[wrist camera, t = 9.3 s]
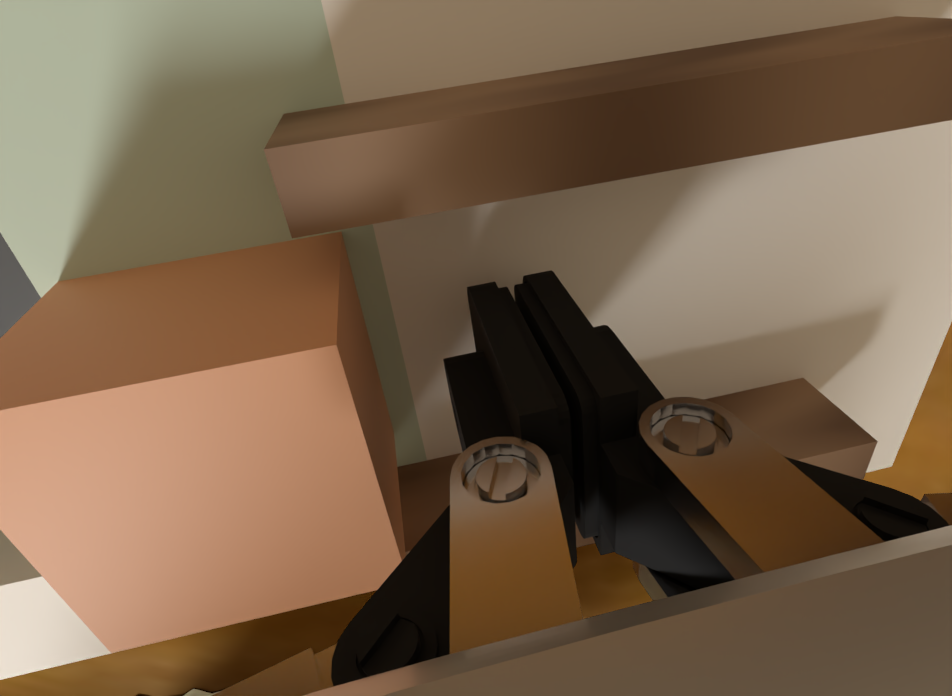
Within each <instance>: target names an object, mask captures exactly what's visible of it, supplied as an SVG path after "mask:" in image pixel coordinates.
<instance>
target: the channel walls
mask: <svg viewBox="0 0 952 696" xmlns="http://www.w3.org/2000/svg"><path fill="white" fill-rule="evenodd" d="M949 120H952V19H950V18H927V17H904V16H894V17H888V18H882V19H876V20H869V21H863V22H857V23H851V24H844V25H838V26H832V27H825V28H819V29H813V30H807V31H800V32H794V33H788V34H781V35H775V36H769V37H763V38H756V39H750V40H744V41H737V42H731V43H725V44H719V45H712V46H706V47H700V48H693V49H687V50H681V51H675V52H668V53H662V54H656V55H650V56H643V57H637V58H631V59H624V60H618V61H612V62H606V63H599V64H593V65H587V66H580V67H574V68H568V69H562V70H555V71H549V72H543V73H536V74H530V75H524V76H518V77H511V78H505V79H499V80H493V81H486V82H480V83H474V84H467V85H461V86H455V87H449V88H442V89H436V90H430V91H423V92H417V93H411V94H405V95H398V96H392V97H386V98H379V99H373V100H367V101H361V102H354V103H348V104H342V105H335V106H329V107H323V108H317V109H310V110H304V111H298V112H292V113H285V114H283V116H282V118H281V119H280V121H279V123H278V125H277V127H276V128H275V130H274V132H273V134H272V136H271V137H270V139H269V141H268V143H267V144H266V146H265V148H264V152H265V155H266V158H267V162H268V165H269V168H270V171H271V174H272V177H273V180H274V183H275V187H276V190H277V193H278V196H279V199H280V202H281V205H282V209H283V212H284V215H285V218H286V221H287V224H288V227H289V231H290V234H291V237H292V238H298V237H303V236H309V235H314V234H320V233H326V232H331V231H337V230H342V229H348V228H353V227H359V226H365V225H370V224H376V223H381V222H387V221H392V220H398V219H404V218H409V217H415V216H420V215H426V214H431V213H437V212H443V211H448V210H454V209H459V208H465V207H470V206H476V205H482V204H487V203H493V202H498V201H504V200H509V199H515V198H521V197H526V196H532V195H537V194H543V193H548V192H554V191H560V190H565V189H571V188H576V187H582V186H587V185H593V184H599V183H604V182H610V181H615V180H621V179H626V178H632V177H638V176H643V175H649V174H654V173H660V172H665V171H671V170H677V169H682V168H688V167H693V166H699V165H704V164H710V163H716V162H721V161H727V160H732V159H738V158H743V157H749V156H755V155H760V154H766V153H771V152H777V151H782V150H788V149H794V148H799V147H805V146H810V145H816V144H821V143H827V142H833V141H838V140H844V139H849V138H855V137H860V136H866V135H872V134H877V133H883V132H888V131H894V130H899V129H905V128H910V127H916V126H922V125H927V124H933V123H938V122H944V121H949ZM704 400H707V401H710V402H713V403H715V404H718V405H720V406H722V407H723V408H725V409H726V410H728V411H729V412H731V413H732V414H734V415H735V416H736V417H737V418H738V419H739V420H741V421H742V422H743V423H744V424H745V425H747V426H748V427H749V428H750V429H751V430H753V431H754V432H755V433H756V434H757V435H759V436H760V437H761V438H762V439H763V440H764V441H766V442H767V443H768V444H769V445H770V446H772V447H773V448H774V449H775V450H776V451H778V452H779V453H780V454H781V455H782V456H785V457H788V458H791V459H795V460H798V461H801V462H805V463H808V464H811V465H815V466H818V467H822V468H825V469H828V470H832V471H835V472H838V473H842V474H845V475H848V476H852V477H855V478H858V479H864V476H865V473H866V471H867V468H868V465H869V463H870V460H871V458H872V455H873V452H874V450H875V447H876V444H877V442H878V441H877V440H876V439H874V438H873V437H872V436H871V435H870V434H869V433H867V432H866V431H865V430H864V429H863V428H862V427H860V426H859V425H858V424H857V423H856V422H855V421H853V420H852V419H851V418H850V417H849V416H848V415H846V414H845V413H844V412H843V411H842V410H840V409H839V408H838V407H837V406H836V405H835V404H833V403H832V402H831V401H830V400H829V399H828V398H826V397H825V396H824V395H823V394H822V393H821V392H819V391H818V390H817V389H816V388H815V387H814V386H812V385H811V384H810V383H809V382H808V381H807V380H805V379H804V378H799V379H795V380H790V381H786V382H781V383H777V384H772V385H768V386H763V387H758V388H754V389H749V390H745V391H740V392H736V393H731V394H727V395H722V396H718V397H713V398H708V399H704ZM460 454H461V453H458V454H454V455H449V456H445V457H440V458H436V459H431V460H427V461H422V462H418V463H413V464H409V465H404V466H399V467H397V469H398V480H399V490H400V501H401V511H402V522H403V532H404V543H405V553H406V555H407V554H408V553H409V552H410V551H411V550H412V548H413V547H414V546H415V545H416V544H417V542H418V541H419V540H420V539H421V538H422V537H423V535H424V534H425V533H426V532H427V531H428V529H429V528H430V527H431V526H432V525H433V523H434V522H435V521H436V520H437V519H438V518H439V516H440V515H441V514H442V513H443V512H444V510H445V509H446V508H447V507H448V506H449V505H450V475H451V470H452V466H453V464H454V463H455V461H456V459H457V458H458V456H459V455H460ZM575 524H576V522H575ZM593 543H595V541H594V539H593V537H590V538H586V539H584V538H583V537H582V536H581V534H580V532H579V529H578V527H577V525H576V548H577V547H581V546H585V545H589V544H593Z"/></svg>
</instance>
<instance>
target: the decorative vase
mask: <svg viewBox="0 0 952 696" xmlns="http://www.w3.org/2000/svg"><path fill="white" fill-rule="evenodd" d="M219 692H220V691H219ZM216 693H218V692H216ZM216 693H213V694H211V693H208V692H204V691H201V690H197V689H192V690H191V691H189V692H188V693H186V694H185V695H183V696H212V695H214V694H216Z"/></svg>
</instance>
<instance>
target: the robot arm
mask: <svg viewBox="0 0 952 696" xmlns="http://www.w3.org/2000/svg"><path fill="white" fill-rule="evenodd" d="M467 295H468V302H469V309H470V315H471V322H472V329H473V335H474V342H475V349H476V352H473V353H468V354H463V355H458V356H454V357H449V358H444V359H443V361H444V367H445V373H446V378H447V383H448V388H449V393H450V398H451V403H452V408H453V413H454V417H455V422H456V426H457V431H458V435H459V439H460V443H461V447H462V453H461V454H460V455H459V456H458V458H457V459H456V461H455V463H454V464H453V466H452V470H451V475H450V505H449V506H448V507H447V508H446V509H445V510H444V512H443V513H442V514H441V515H440V516H439V518H438V519H437V520H436V521H435V522H434V523H433V525H432V526H431V527H430V528H429V529H428V531H427V532H426V533H425V534H424V535H423V537H422V538H421V539H420V540H419V541H418V542H417V544H416V545H415V546H414V547H413V548H412V550H411V551H410V552H409V553H408V554H407V555H406V557H405V558H404V559H403V560H402V561H401V563H400V564H399V565H398V566H397V567H396V568H395V570H394V571H393V572H392V573H391V574H390V576H389V577H388V578H387V579H386V580H385V582H384V583H383V584H382V585H381V586H380V587H379V589H378V590H377V591H376V592H375V593H374V595H373V596H372V597H371V598H370V599H369V600H368V602H367V603H366V604H365V605H364V606H363V608H362V609H361V610H360V611H359V612H358V613H357V615H356V616H355V617H354V618H353V619H352V621H351V622H350V623H349V624H348V626H347V627H346V629H345V630H344V632H343V633H342V635H341V637H340V638H339V640H338V642H337V644H335V645H333V646H331V647H329V648H327V649H325V650H323V651H321V652H319V653H317V654H315V653H314V651H313V650H312V648H309V649H307V650H305V651H303V652H301V653H299V654H297V655H295V656H292V657H290V658H288V659H286V660H284V661H282V662H280V663H278V664H276V665H274V666H272V667H270V668H268V669H266V670H264V671H261V672H259V673H257V674H255V675H253V676H251V677H249V678H247V679H245V680H243V681H241V682H239V683H237V684H235V685H233V686H230V687H228V688H226V689H224V690H222V691H220V692H218V693H216V694H214V695H212V696H952V493H935V494H924V496H923V498H922V500H921V501H919V500H918V499H916V498H914V497H913V496H910V495H908V494H905V493H902V492H900V491H897V490H895V489H892V488H889V487H885V486H882V485H879V484H875V483H872V482H869V481H865V480H862V479H858V478H855V477H852V476H848V475H845V474H842V473H838V472H835V471H832V470H828V469H825V468H822V467H818V466H815V465H811V464H808V463H805V462H801V461H798V460H795V459H791V458H788V457H785V456H782V455H781V454H780V453H779V452H778V451H776V450H775V449H774V448H773V447H772V446H770V445H769V444H768V443H767V442H766V441H764V440H763V439H762V438H761V437H760V436H759V435H757V434H756V433H755V432H754V431H753V430H751V429H750V428H749V427H748V426H747V425H745V424H744V423H743V422H742V421H741V420H739V419H738V418H737V417H736V416H735V415H734V414H732V413H731V412H729V411H728V410H726V409H725V408H723V407H722V406H720V405H718V404H715V403H713V402H710V401H707V400H704V399H699V398H693V397H673V398H668V399H665V398H664V397H663V396H662V394H661V393H660V392H659V390H658V389H657V388H656V386H655V385H654V384H653V383H652V381H651V380H650V379H649V377H648V376H647V375H646V373H645V372H644V371H643V370H642V368H641V367H640V366H639V364H638V363H637V362H636V361H635V359H634V358H633V357H632V355H631V354H630V353H629V351H628V350H627V349H626V348H625V346H624V345H623V344H622V342H621V341H620V340H619V338H618V337H617V336H616V335H615V333H614V332H613V331H612V329H611V328H610V327H608V326H607V325H601V326H597V327H593V326H592V325H591V323H590V322H589V320H588V319H587V318H586V316H585V315H584V314H583V312H582V311H581V309H580V308H579V307H578V305H577V304H576V302H575V301H574V300H573V298H572V297H571V296H570V294H569V293H568V291H567V290H566V289H565V287H564V286H563V284H562V283H561V282H560V280H559V279H558V277H557V276H556V275H555V273H554V272H553V271H552V270H550V271H545V272H540V273H535V274H530V275H525V276H523V283H522V284H517V285H515V286H514V296H515V300H514V298H513V297H512V295H511V293H510V291H509V289H508V287H502V288H498V286H497V284H496V282H490V283H485V284H480V285H475V286H470V287H467ZM575 522H576V524H575ZM576 525H577V527H578V529H579V532H580V534H581V536H582V537H583V538H584V539H586V538H590V537H593V539H594V541H595V543H596V546H597V548H598V550H599V552H600V555H604V554H608V553H612V552H615V553H617V554H619V555H622V556H624V557H626V558H628V559H631V560H632V562H633V569H634V571H635V573H636V575H637V577H638V579H639V581H640V582H641V584H642V585H643V587H644V588H645V590H646V591H647V592H648V594H649V595H650V597H651V598H652V600H653V601H652V602H648V603H644V604H640V605H636V606H632V607H628V608H624V609H620V610H617V611H613V612H609V613H605V614H601V615H598V616H594V617H590V618H586V619H583V616H582V612H581V607H580V602H579V597H578V592H577V587H576V582H575V578H574V573H573V568H574V566H575V565H576V563H577V551H576Z"/></svg>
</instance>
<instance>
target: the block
mask: <svg viewBox="0 0 952 696" xmlns="http://www.w3.org/2000/svg"><path fill="white" fill-rule="evenodd" d="M0 530H1V531H2V532H3V533H4V534H5V536H6V537H7V538H8V539H9V540H10V541H11V542H12V543H13V544H14V546H15V547H16V548H17V549H18V550H19V551H20V552H21V553H22V554H23V556H24V557H25V558H26V559H27V560H28V561H29V562H30V563H31V564H32V566H33V567H34V568H35V569H36V570H37V571H38V572H39V573H40V574H41V576H42V577H43V578H44V579H45V580H46V581H47V582H48V583H49V585H50V586H51V587H52V588H53V589H54V590H55V591H56V592H57V593H58V595H59V596H60V597H61V598H62V599H63V600H64V601H65V602H66V603H67V605H68V606H69V607H70V608H71V609H72V610H73V611H74V612H75V613H76V615H77V616H78V617H79V618H80V619H81V620H82V621H83V622H84V623H85V625H86V626H87V627H88V628H89V629H90V630H91V631H92V632H93V633H94V635H95V636H96V637H97V638H98V639H99V640H100V641H101V642H102V643H103V645H104V646H105V647H106V648H107V649H108V650H109V651H110V652H111V653H114V652H118V651H122V650H127V649H131V648H135V647H139V646H144V645H148V644H152V643H156V642H160V641H165V640H169V639H173V638H177V637H181V636H186V635H190V634H194V633H198V632H203V631H207V630H211V629H215V628H219V627H224V626H228V625H232V624H236V623H240V622H245V621H249V620H253V619H257V618H261V617H266V616H270V615H274V614H278V613H283V612H287V611H291V610H295V609H299V608H304V607H308V606H312V605H316V604H320V603H325V602H329V601H333V600H337V599H342V598H346V597H350V596H354V595H358V594H363V593H367V592H371V591H375V590H378V589H379V587H380V586H381V585H382V584H383V583H384V582H385V580H386V579H387V578H388V577H389V576H390V574H391V573H392V572H393V571H394V570H395V568H396V567H397V566H398V565H399V564H400V563H401V561H402V560H403V559H404V558H405V557H406V553H405V543H404V532H403V522H402V511H401V501H400V490H399V480H398V469H397V459H396V449H395V438H394V431H393V427H392V423H391V419H390V416H389V412H388V408H387V404H386V400H385V397H384V393H383V389H382V385H381V381H380V377H379V374H378V370H377V366H376V362H375V358H374V354H373V351H372V347H371V343H370V339H369V335H368V332H367V328H366V324H365V320H364V316H363V312H362V309H361V305H360V301H359V297H358V293H357V289H356V286H355V282H354V278H353V274H352V270H351V266H350V263H349V259H348V255H347V251H346V247H345V244H344V240H343V236H342V232H335V233H330V234H324V235H318V236H313V237H307V238H301V239H296V240H290V241H284V242H279V243H273V244H267V245H262V246H256V247H250V248H245V249H239V250H233V251H228V252H222V253H216V254H211V255H205V256H199V257H194V258H188V259H182V260H177V261H171V262H166V263H160V264H154V265H149V266H143V267H137V268H132V269H126V270H120V271H115V272H109V273H103V274H98V275H92V276H86V277H81V278H75V279H69V280H64V281H58V282H57V283H56V284H55V285H54V286H53V287H52V288H51V289H50V290H49V291H48V292H47V293H46V294H45V295H44V296H43V297H42V298H41V299H40V300H39V301H38V302H37V303H36V304H35V305H34V306H33V307H32V308H31V309H30V310H29V311H28V312H27V313H25V314H24V315H23V316H22V317H21V318H20V319H19V320H18V321H17V322H16V323H15V324H14V325H13V326H12V327H11V328H10V329H9V330H8V331H7V332H6V333H5V334H4V335H3V336H2V337H1V338H0Z"/></svg>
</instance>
